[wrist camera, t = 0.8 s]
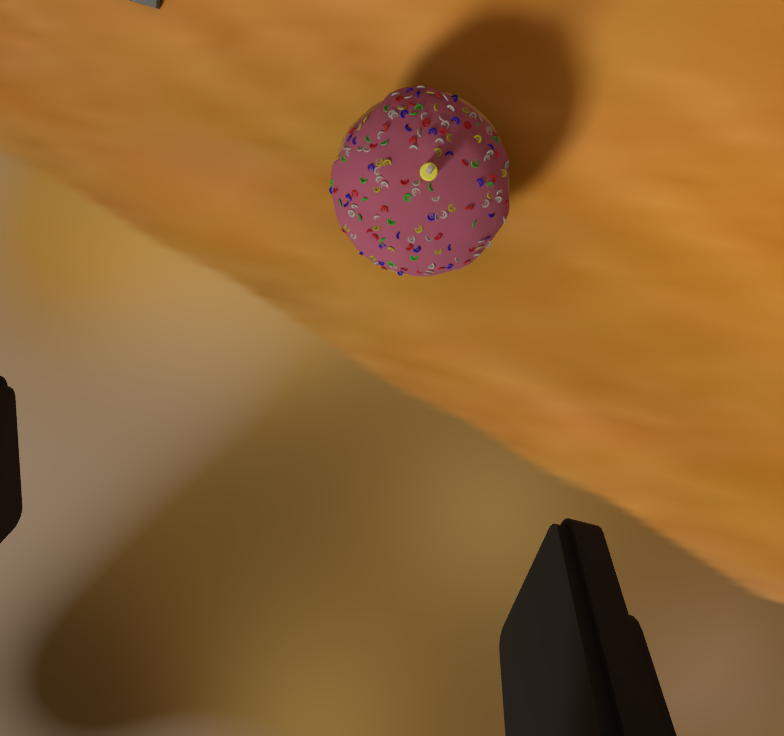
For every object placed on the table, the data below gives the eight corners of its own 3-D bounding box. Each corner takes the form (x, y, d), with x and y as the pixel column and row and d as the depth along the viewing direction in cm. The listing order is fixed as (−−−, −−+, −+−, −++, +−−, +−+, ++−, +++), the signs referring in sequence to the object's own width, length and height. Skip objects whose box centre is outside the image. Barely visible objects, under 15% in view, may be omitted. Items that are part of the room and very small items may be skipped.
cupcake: (371, 63, 31) (327, 59, 20) (530, 116, 31) (571, 141, 20) (330, 225, 34) (274, 296, 24) (472, 271, 35) (481, 361, 24)
